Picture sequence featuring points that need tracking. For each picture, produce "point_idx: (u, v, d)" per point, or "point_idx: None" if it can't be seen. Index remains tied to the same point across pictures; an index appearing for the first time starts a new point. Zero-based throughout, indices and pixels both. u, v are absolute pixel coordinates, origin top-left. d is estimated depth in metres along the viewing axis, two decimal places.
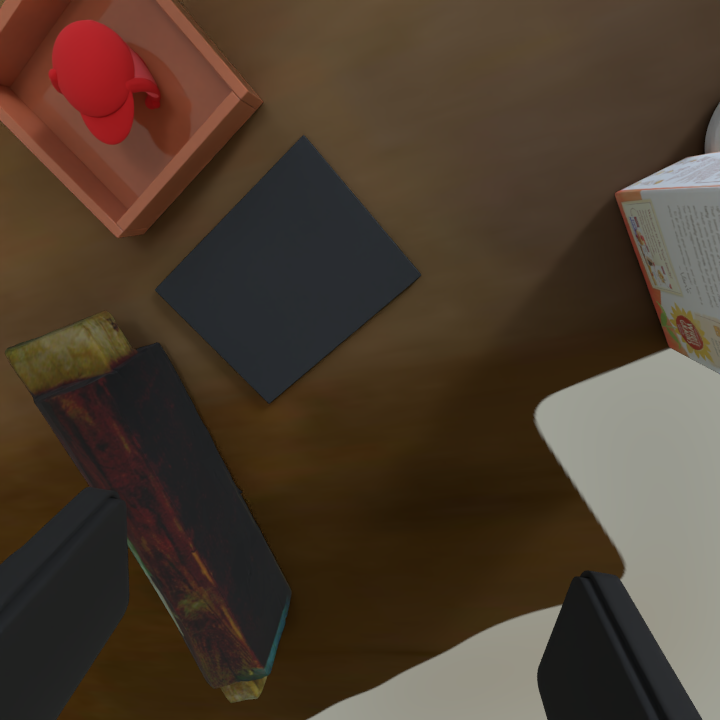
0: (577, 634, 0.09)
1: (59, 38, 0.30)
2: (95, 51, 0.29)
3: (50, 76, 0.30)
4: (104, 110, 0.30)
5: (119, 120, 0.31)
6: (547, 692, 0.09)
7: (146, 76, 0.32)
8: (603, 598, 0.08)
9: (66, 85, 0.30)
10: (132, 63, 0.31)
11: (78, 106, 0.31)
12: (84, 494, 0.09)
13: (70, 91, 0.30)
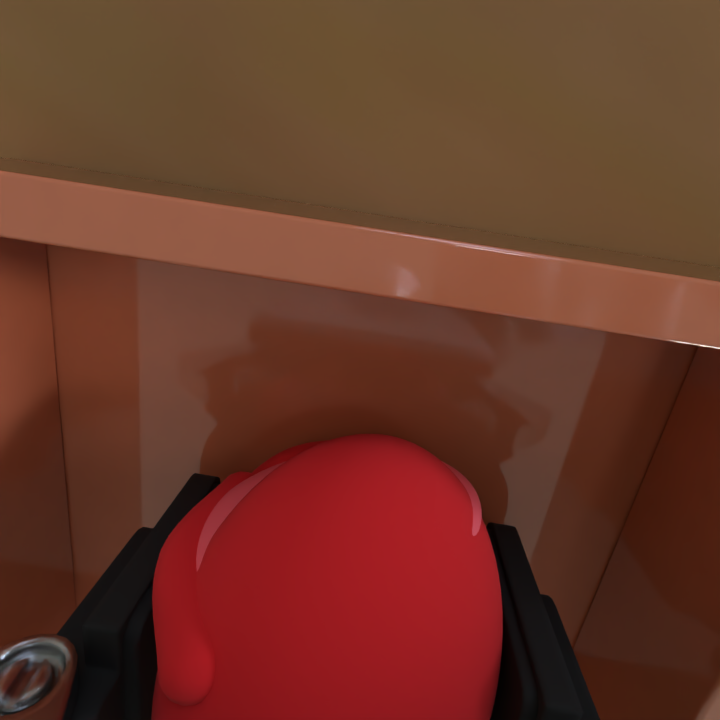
0: None
1: (346, 594, 0.06)
2: None
3: (168, 691, 0.06)
4: None
5: None
6: None
7: None
8: (499, 544, 0.09)
9: None
10: None
11: None
12: (194, 479, 0.10)
13: None
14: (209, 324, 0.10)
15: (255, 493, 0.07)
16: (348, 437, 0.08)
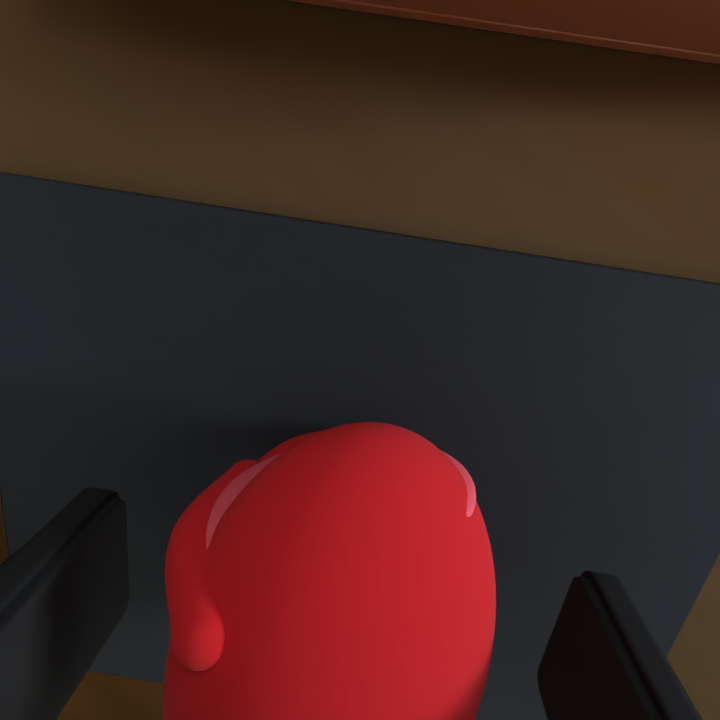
0: (577, 634, 0.09)
1: (347, 568, 0.06)
2: None
3: (182, 657, 0.06)
4: None
5: None
6: (547, 692, 0.09)
7: None
8: (603, 598, 0.08)
9: None
10: None
11: None
12: (84, 494, 0.09)
13: None
14: None
15: (261, 476, 0.08)
16: (350, 425, 0.08)
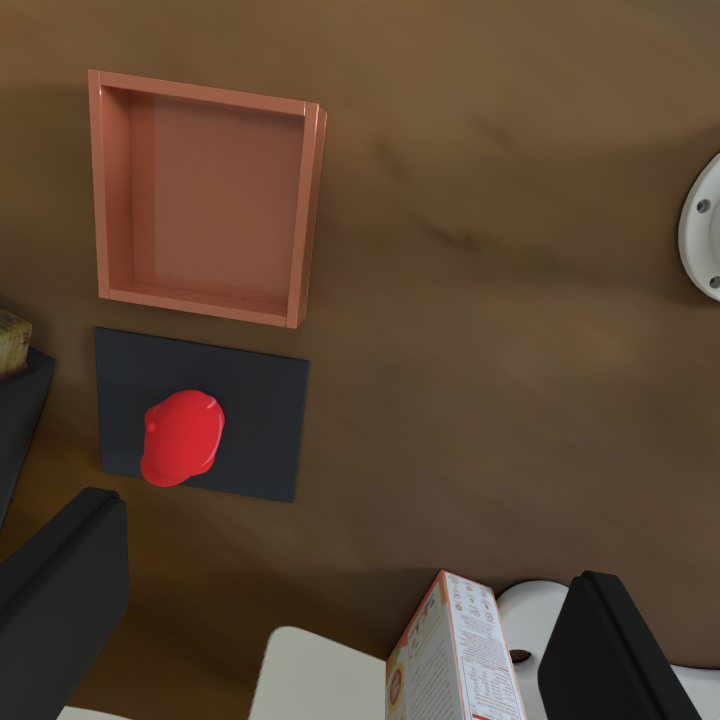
0: (577, 634, 0.09)
1: (177, 414, 0.35)
2: (189, 452, 0.35)
3: (147, 429, 0.35)
4: (161, 475, 0.36)
5: (165, 481, 0.37)
6: (547, 691, 0.09)
7: (212, 456, 0.39)
8: (603, 598, 0.08)
9: (151, 447, 0.35)
10: (209, 456, 0.37)
11: (146, 458, 0.36)
12: (84, 494, 0.09)
13: (150, 453, 0.35)
14: (176, 132, 0.33)
15: (165, 400, 0.37)
16: (185, 390, 0.37)
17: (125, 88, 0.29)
